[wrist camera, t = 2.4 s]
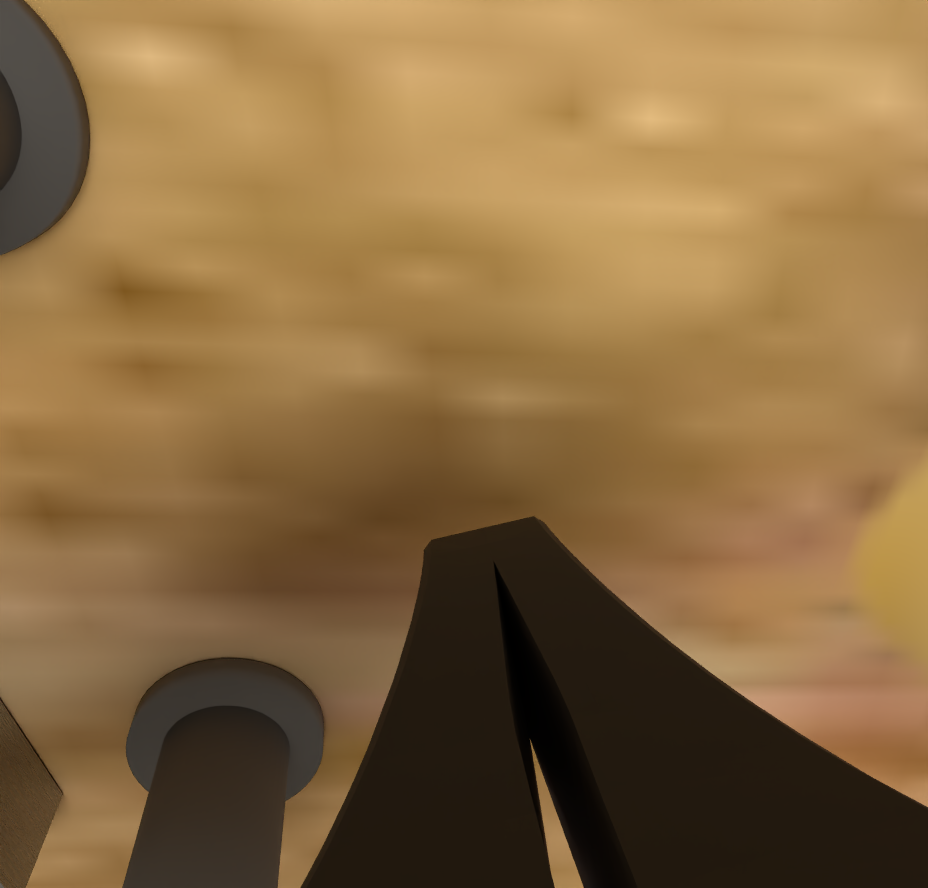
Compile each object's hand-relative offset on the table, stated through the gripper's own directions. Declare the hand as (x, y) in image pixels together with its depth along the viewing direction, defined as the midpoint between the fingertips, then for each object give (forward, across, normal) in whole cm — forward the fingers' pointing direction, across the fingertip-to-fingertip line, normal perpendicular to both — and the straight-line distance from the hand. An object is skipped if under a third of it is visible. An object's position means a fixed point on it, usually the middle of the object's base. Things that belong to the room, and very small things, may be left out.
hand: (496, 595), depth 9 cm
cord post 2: (+5, +6, +6) cm, 10 cm away
